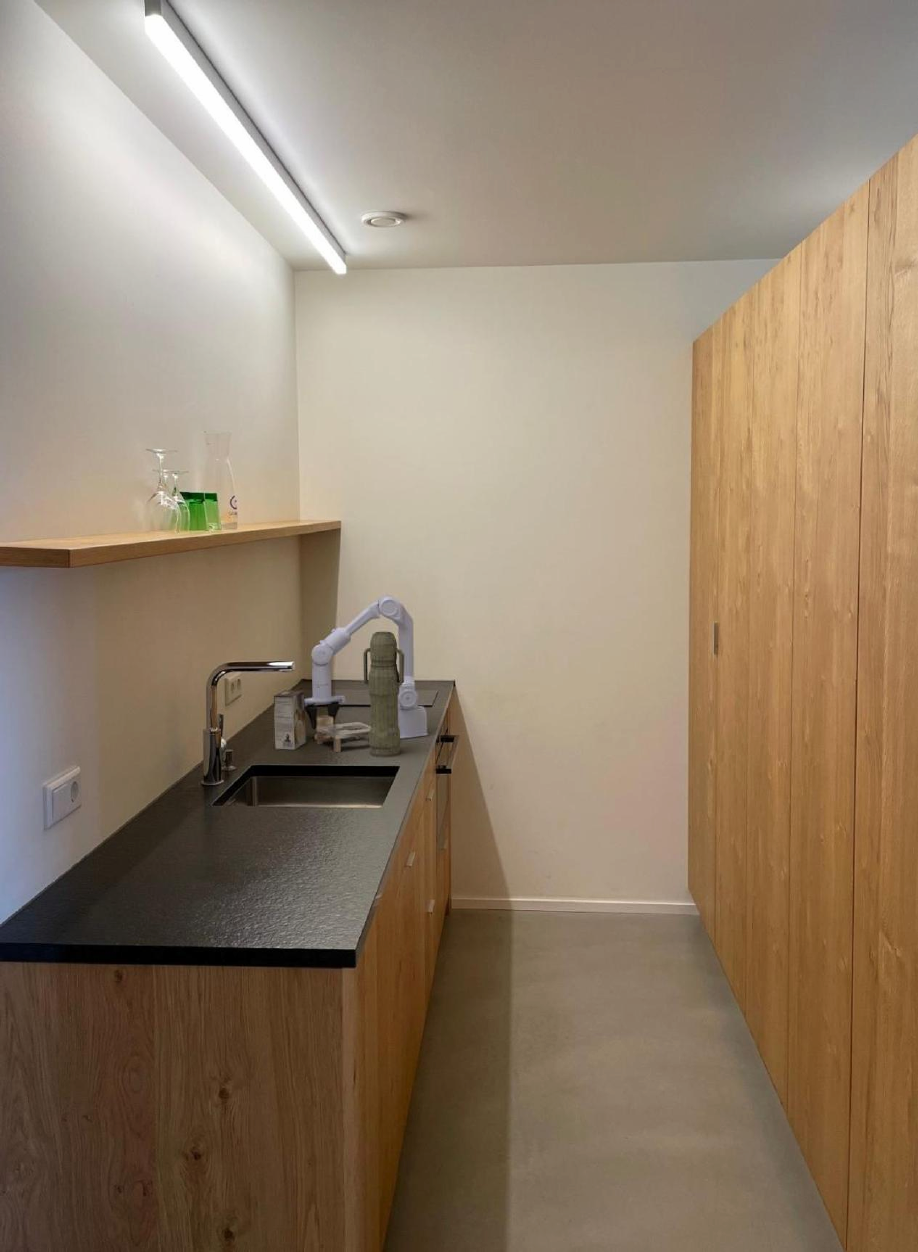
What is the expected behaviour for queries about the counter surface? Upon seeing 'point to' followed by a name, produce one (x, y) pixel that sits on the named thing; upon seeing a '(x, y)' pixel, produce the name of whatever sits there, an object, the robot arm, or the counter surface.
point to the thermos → (384, 693)
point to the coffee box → (289, 719)
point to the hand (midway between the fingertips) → (322, 727)
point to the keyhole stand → (342, 732)
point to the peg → (324, 724)
